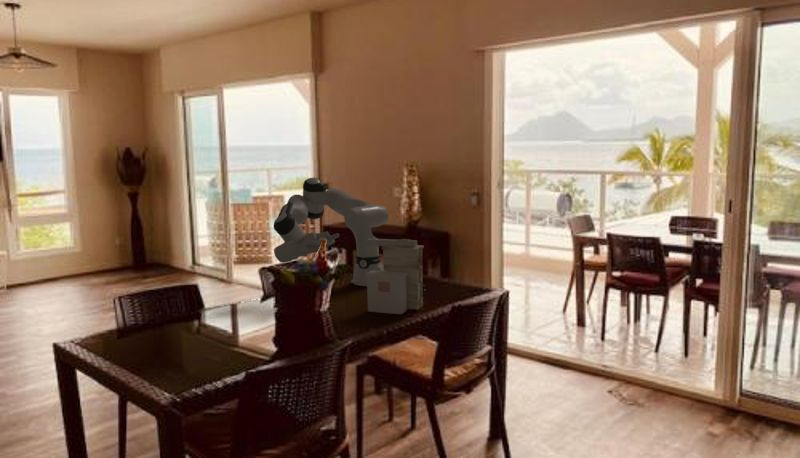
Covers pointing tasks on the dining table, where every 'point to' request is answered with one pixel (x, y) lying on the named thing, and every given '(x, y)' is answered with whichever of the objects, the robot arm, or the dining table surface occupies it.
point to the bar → (392, 242)
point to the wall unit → (407, 270)
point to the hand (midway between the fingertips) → (333, 233)
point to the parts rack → (386, 292)
